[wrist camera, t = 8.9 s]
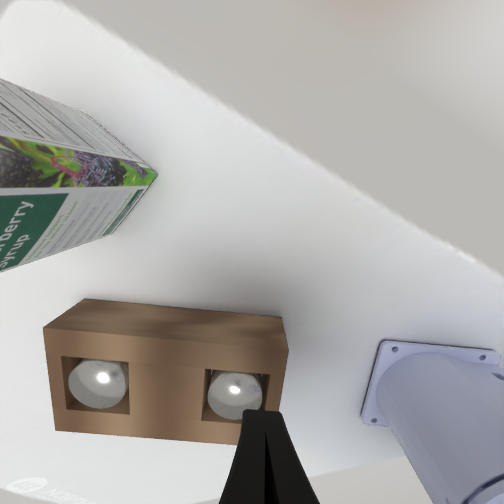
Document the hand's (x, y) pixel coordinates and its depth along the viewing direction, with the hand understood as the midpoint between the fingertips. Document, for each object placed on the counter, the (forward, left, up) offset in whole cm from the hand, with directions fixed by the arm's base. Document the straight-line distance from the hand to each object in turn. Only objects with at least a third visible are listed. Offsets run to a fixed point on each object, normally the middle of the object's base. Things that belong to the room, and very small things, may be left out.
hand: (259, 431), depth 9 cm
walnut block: (+5, +5, -10) cm, 13 cm away
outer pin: (+10, +5, -10) cm, 15 cm away
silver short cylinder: (+1, +5, -10) cm, 12 cm away
